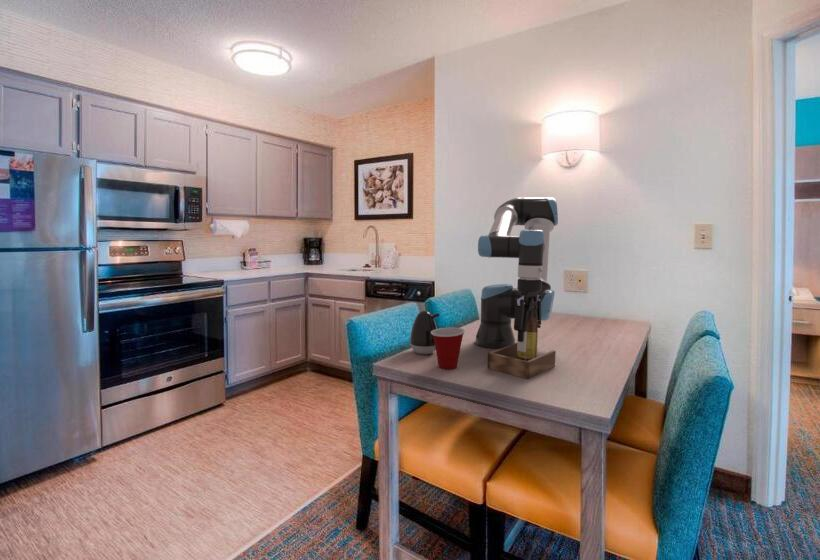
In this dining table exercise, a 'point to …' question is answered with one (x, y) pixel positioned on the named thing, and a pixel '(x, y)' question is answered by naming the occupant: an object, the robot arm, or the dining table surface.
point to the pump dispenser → (423, 333)
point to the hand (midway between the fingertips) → (526, 348)
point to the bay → (519, 362)
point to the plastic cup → (448, 346)
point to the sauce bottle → (530, 337)
